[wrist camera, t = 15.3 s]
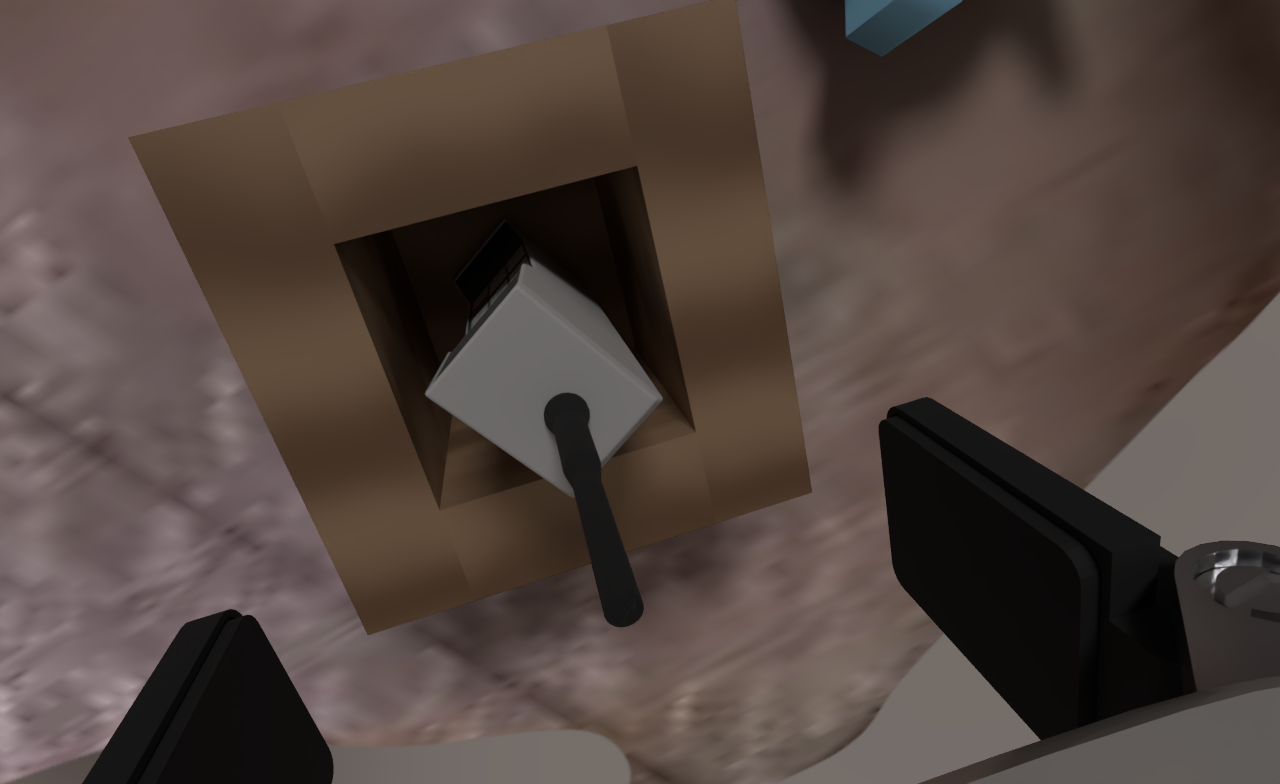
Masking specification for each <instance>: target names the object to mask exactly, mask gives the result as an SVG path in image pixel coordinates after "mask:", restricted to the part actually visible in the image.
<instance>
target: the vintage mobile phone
mask: <svg viewBox="0 0 1280 784" xmlns="http://www.w3.org/2000/svg"><path fill="white" fill-rule="evenodd" d="M453 283H454V285H455V286H456V287H457V289H458V290H459V292H460V293H461V294H462V296H463V297H464V299H465V300H466V301H467V303H468V304H469V308H468V317H467V325H466V334H465V337H464V338H463V339H462V340H461V341H460V343H459V344H458V345H457V346H456V347H455V348H454V350H453V351H452V352H448V354H447V355H446V357H445V359H444V361H443V362H442V364H441V366H440V368H439V369H438V371H437V373H436V374H435V376H434V378H433V380H432V381H431V383H430V385H429V387H428V388H427V390H426V392H425V395H426V397H427V398H429V399H430V400H432V401H433V402H435V403H436V404H437V405H439V406H440V407H442V408H443V409H445V410H446V411H448V412H449V413H450V414H452V415H453V416H455V417H456V418H458V419H459V420H460V421H462V422H463V423H465V424H466V425H468V426H469V427H471V428H472V429H473V430H475V431H476V432H478V433H479V434H481V435H482V436H483V437H485V438H486V439H488V440H489V441H491V442H492V443H493V444H495V445H496V446H498V447H499V448H501V449H502V450H504V451H505V452H506V453H508V454H509V455H511V456H512V457H514V458H515V459H516V460H518V461H519V462H521V463H522V464H524V465H525V466H527V467H528V468H529V469H531V470H532V471H534V472H535V473H537V474H538V475H539V476H541V477H542V478H544V479H545V480H547V481H548V482H550V483H551V484H552V485H554V486H555V487H557V488H558V489H560V490H561V491H562V492H564V493H565V494H567V495H568V496H570V497H573V498H574V497H575V499H576V503H577V507H578V511H579V515H580V519H581V523H582V527H583V531H584V535H585V539H586V543H587V547H588V551H589V556H590V560H591V564H592V568H593V572H594V576H595V580H596V584H597V588H598V592H599V596H600V600H601V604H602V608H603V612H604V616H605V618H606V620H607V622H609V623H610V624H611V625H613V626H616V627H626V626H630V625H632V624H634V623H635V622H636V621H638V620H639V618H640V617H641V616H642V613H643V610H644V607H643V602H642V599H641V596H640V593H639V590H638V587H637V584H636V581H635V578H634V575H633V572H632V569H631V566H630V563H629V560H628V558H627V555H626V552H625V549H624V546H623V543H622V540H621V537H620V534H619V531H618V528H617V525H616V522H615V519H614V516H613V513H612V510H611V507H610V504H609V501H608V498H607V495H606V493H605V490H604V487H603V484H602V481H601V468H602V467H603V466H604V465H605V464H606V463H607V462H608V461H609V459H610V458H611V457H612V456H613V455H614V454H615V453H616V452H617V451H618V449H619V448H620V447H621V446H622V445H623V444H624V443H625V442H626V441H627V439H628V438H629V437H630V436H631V435H632V434H633V433H634V432H635V431H636V429H637V428H638V427H639V426H640V425H641V424H642V423H643V422H644V421H645V419H646V418H647V417H648V416H649V415H650V414H651V413H652V412H653V411H654V409H655V408H656V407H657V406H658V405H659V404H660V403H661V402H662V400H663V398H662V396H661V395H660V393H659V392H658V390H657V389H656V387H655V386H654V384H653V383H652V381H651V380H650V379H649V377H648V376H647V374H646V373H645V371H644V370H643V368H642V367H641V366H640V364H639V363H638V361H637V360H636V358H635V357H634V355H633V354H632V353H631V351H630V350H629V348H628V347H627V345H626V344H625V342H624V341H623V340H622V338H621V337H620V335H619V334H618V332H617V331H616V329H615V328H614V326H613V325H612V324H611V322H610V321H609V319H608V318H607V316H606V315H605V313H604V312H603V311H602V309H601V308H600V306H599V305H598V303H597V302H596V300H595V299H594V298H593V296H592V295H591V293H590V292H589V290H588V289H587V287H586V286H585V285H584V284H583V283H582V282H581V281H579V280H578V279H577V278H576V277H575V276H574V275H572V274H571V273H570V272H569V271H568V270H566V269H565V268H564V267H563V266H562V265H561V264H559V263H558V262H557V261H556V260H555V259H554V258H552V257H551V256H550V255H549V254H548V253H547V252H545V251H544V250H543V249H542V248H541V247H540V246H538V245H537V244H536V243H535V242H534V241H533V240H531V239H530V238H529V237H528V236H527V235H525V234H524V233H523V232H522V231H521V230H520V229H518V228H517V227H516V226H515V225H514V224H513V223H511V222H510V221H509V220H508V219H507V218H505V217H504V218H503V219H502V220H501V222H500V223H499V224H498V225H497V226H496V228H495V229H494V230H493V231H492V232H491V234H490V235H489V236H488V237H487V239H486V240H485V241H484V242H483V243H482V245H481V246H480V247H479V248H478V249H477V251H476V252H475V253H474V254H473V255H472V257H471V258H470V259H469V260H468V262H467V263H466V264H465V265H464V266H463V268H462V269H461V270H460V271H459V272H458V274H457V275H456V276H455V277H454V280H453Z"/></svg>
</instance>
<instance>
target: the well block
mask: <svg viewBox="0 0 1280 784" xmlns="http://www.w3.org/2000/svg"><path fill="white" fill-rule="evenodd" d="M128 138H129V140H130V142H131V144H132V146H133V148H134V150H135V153H136V155H137V157H138V159H139V161H140V163H141V165H142V167H143V169H144V171H145V173H146V175H147V177H148V180H149V182H150V184H151V186H152V188H153V190H154V192H155V194H156V196H157V198H158V200H159V202H160V204H161V207H162V209H163V211H164V213H165V215H166V217H167V219H168V221H169V223H170V225H171V227H172V229H173V231H174V234H175V236H176V238H177V240H178V242H179V244H180V246H181V248H182V250H183V252H184V254H185V256H186V258H187V261H188V263H189V265H190V267H191V269H192V271H193V273H194V275H195V277H196V279H197V281H198V283H199V285H200V288H201V290H202V292H203V294H204V296H205V298H206V300H207V302H208V304H209V306H210V308H211V310H212V312H213V315H214V317H215V319H216V321H217V323H218V325H219V327H220V329H221V331H222V333H223V335H224V337H225V339H226V342H227V344H228V346H229V348H230V350H231V352H232V354H233V356H234V358H235V360H236V362H237V364H238V366H239V369H240V371H241V373H242V375H243V377H244V379H245V381H246V383H247V385H248V387H249V389H250V391H251V393H252V396H253V398H254V400H255V402H256V404H257V406H258V408H259V410H260V412H261V414H262V416H263V418H264V420H265V422H266V425H267V427H268V429H269V431H270V433H271V435H272V437H273V439H274V441H275V443H276V445H277V447H278V449H279V452H280V454H281V456H282V458H283V460H284V462H285V464H286V466H287V468H288V470H289V472H290V474H291V476H292V479H293V481H294V483H295V485H296V487H297V489H298V491H299V493H300V495H301V497H302V499H303V501H304V503H305V506H306V508H307V510H308V512H309V514H310V516H311V518H312V520H313V522H314V524H315V526H316V528H317V530H318V533H319V535H320V537H321V539H322V541H323V543H324V545H325V547H326V549H327V551H328V553H329V555H330V557H331V560H332V562H333V564H334V566H335V568H336V570H337V572H338V574H339V576H340V578H341V580H342V582H343V584H344V587H345V589H346V591H347V593H348V595H349V597H350V599H351V601H352V603H353V605H354V607H355V609H356V611H357V614H358V616H359V618H360V620H361V622H362V624H363V626H364V628H365V630H366V632H367V634H368V635H370V634H373V633H376V632H379V631H383V630H386V629H389V628H392V627H395V626H398V625H401V624H404V623H407V622H411V621H414V620H417V619H420V618H423V617H426V616H429V615H432V614H435V613H439V612H442V611H445V610H448V609H451V608H454V607H457V606H460V605H463V604H467V603H470V602H473V601H476V600H479V599H482V598H485V597H488V596H491V595H495V594H498V593H501V592H504V591H507V590H510V589H513V588H516V587H519V586H522V585H526V584H529V583H532V582H535V581H538V580H541V579H544V578H547V577H550V576H554V575H557V574H560V573H563V572H566V571H569V570H572V569H575V568H578V567H582V566H585V565H588V564H591V560H590V556H589V551H588V547H587V543H586V539H585V535H584V531H583V527H582V523H581V519H580V515H579V511H578V507H577V503H576V499H575V497H574V498H573V497H570V496H568V495H567V494H565V493H564V492H562V491H561V490H560V489H558V488H557V487H555V486H554V485H552V484H551V483H550V482H548V481H547V480H545V479H544V478H542V477H541V476H539V475H538V474H537V473H535V472H534V471H532V470H531V469H529V468H528V467H527V466H525V465H524V464H522V463H521V462H519V461H518V460H516V459H515V458H514V457H512V456H511V455H509V454H508V453H506V452H505V451H504V450H502V449H501V448H499V447H498V446H496V445H495V444H493V443H492V442H491V441H489V440H488V439H486V438H485V437H483V436H482V435H481V434H479V433H478V432H476V431H475V430H473V429H472V428H471V427H469V426H468V425H466V424H465V423H463V422H462V421H460V420H459V419H458V418H456V417H455V416H453V415H452V414H450V413H449V412H448V411H446V410H445V409H443V408H442V407H440V406H439V405H437V404H436V403H435V402H433V401H432V400H430V399H429V398H427V397H426V395H425V392H426V390H427V388H428V387H429V385H430V383H431V381H432V380H433V378H434V376H435V374H436V373H437V371H438V369H439V368H440V366H441V364H442V362H443V361H444V359H445V357H446V355H447V354H448V352H452V351H453V350H454V348H455V347H456V346H457V345H458V344H459V343H460V341H461V340H462V339H463V338H464V337H465V334H466V325H467V317H468V308H469V304H468V303H467V301H466V300H465V299H464V297H463V296H462V294H461V293H460V292H459V290H458V289H457V287H456V286H455V285H454V283H453V280H454V277H455V276H456V275H457V274H458V272H459V271H460V270H461V269H462V268H463V266H464V265H465V264H466V263H467V262H468V260H469V259H470V258H471V257H472V255H473V254H474V253H475V252H476V251H477V249H478V248H479V247H480V246H481V245H482V243H483V242H484V241H485V240H486V239H487V237H488V236H489V235H490V234H491V232H492V231H493V230H494V229H495V228H496V226H497V225H498V224H499V223H500V222H501V220H502V219H503V218H504V217H505V218H507V219H508V220H509V221H510V222H511V223H513V224H514V225H515V226H516V227H517V228H518V229H520V230H521V231H522V232H523V233H524V234H525V235H527V236H528V237H529V238H530V239H531V240H533V241H534V242H535V243H536V244H537V245H538V246H540V247H541V248H542V249H543V250H544V251H545V252H547V253H548V254H549V255H550V256H551V257H552V258H554V259H555V260H556V261H557V262H558V263H559V264H561V265H562V266H563V267H564V268H565V269H566V270H568V271H569V272H570V273H571V274H572V275H574V276H575V277H576V278H577V279H578V280H579V281H581V282H582V283H583V284H584V285H585V286H586V287H587V289H588V290H589V292H590V293H591V295H592V296H593V298H594V299H595V300H596V302H597V303H598V305H599V306H600V308H601V309H602V311H603V312H604V313H605V315H606V316H607V318H608V319H609V321H610V322H611V324H612V325H613V326H614V328H615V329H616V331H617V332H618V334H619V335H620V337H621V338H622V340H623V341H624V342H625V344H626V345H627V347H628V348H629V350H630V351H631V353H632V354H633V355H634V357H635V358H636V360H637V361H638V363H639V364H640V366H641V367H642V368H643V370H644V371H645V373H646V374H647V376H648V377H649V379H650V380H651V381H652V383H653V384H654V386H655V387H656V389H657V390H658V392H659V393H660V395H661V396H662V398H663V400H662V402H661V403H660V404H659V405H658V406H657V407H656V408H655V409H654V411H653V412H652V413H651V414H650V415H649V416H648V417H647V418H646V419H645V421H644V422H643V423H642V424H641V425H640V426H639V427H638V428H637V429H636V431H635V432H634V433H633V434H632V435H631V436H630V437H629V438H628V439H627V441H626V442H625V443H624V444H623V445H622V446H621V447H620V448H619V449H618V451H617V452H616V453H615V454H614V455H613V456H612V457H611V458H610V459H609V461H608V462H607V463H606V464H605V465H604V466H603V467H602V468H601V481H602V484H603V487H604V490H605V493H606V495H607V498H608V501H609V504H610V507H611V510H612V513H613V516H614V519H615V522H616V525H617V528H618V531H619V534H620V537H621V540H622V543H623V546H624V549H625V552H628V551H631V550H634V549H638V548H641V547H644V546H647V545H650V544H653V543H656V542H659V541H662V540H666V539H669V538H672V537H675V536H678V535H681V534H684V533H687V532H690V531H694V530H697V529H700V528H703V527H706V526H709V525H712V524H715V523H718V522H722V521H725V520H728V519H731V518H734V517H737V516H740V515H743V514H746V513H750V512H753V511H756V510H759V509H762V508H765V507H768V506H771V505H774V504H777V503H781V502H784V501H787V500H790V499H793V498H796V497H799V496H802V495H805V494H809V493H812V488H811V482H810V476H809V469H808V463H807V456H806V450H805V443H804V437H803V430H802V424H801V418H800V411H799V405H798V398H797V392H796V385H795V379H794V372H793V366H792V360H791V353H790V347H789V340H788V334H787V327H786V321H785V314H784V308H783V302H782V295H781V289H780V282H779V276H778V269H777V263H776V256H775V250H774V244H773V237H772V231H771V224H770V218H769V211H768V205H767V198H766V192H765V186H764V179H763V173H762V166H761V160H760V153H759V147H758V140H757V134H756V128H755V121H754V115H753V108H752V102H751V95H750V89H749V82H748V76H747V70H746V63H745V57H744V50H743V44H742V37H741V31H740V24H739V18H738V12H737V5H736V0H713V1H709V2H705V3H700V4H696V5H692V6H688V7H683V8H679V9H675V10H671V11H666V12H662V13H658V14H653V15H649V16H645V17H641V18H636V19H632V20H628V21H624V22H619V23H615V24H611V25H606V26H602V27H598V28H594V29H589V30H585V31H581V32H577V33H572V34H568V35H564V36H559V37H555V38H551V39H547V40H542V41H538V42H534V43H530V44H525V45H521V46H517V47H513V48H508V49H504V50H500V51H495V52H491V53H487V54H483V55H478V56H474V57H470V58H466V59H461V60H457V61H453V62H448V63H444V64H440V65H436V66H431V67H427V68H423V69H419V70H414V71H410V72H406V73H401V74H397V75H393V76H389V77H384V78H380V79H376V80H372V81H367V82H363V83H359V84H354V85H350V86H346V87H342V88H337V89H333V90H329V91H325V92H320V93H316V94H312V95H308V96H303V97H299V98H295V99H290V100H286V101H282V102H278V103H273V104H269V105H265V106H261V107H256V108H252V109H248V110H243V111H239V112H235V113H231V114H226V115H222V116H218V117H214V118H209V119H205V120H201V121H196V122H192V123H188V124H184V125H179V126H175V127H171V128H167V129H162V130H158V131H154V132H150V133H145V134H141V135H137V136H132V137H128Z"/></svg>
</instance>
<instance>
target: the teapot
mask: <svg viewBox="0 0 1280 784" xmlns="http://www.w3.org/2000/svg"><path fill="white" fill-rule="evenodd" d="M962 1H963V0H845V38H846V39H848V40H850V41H852V42H854V43H856V44H858V45H860V46H861V47H863V48H865V49H867V50H869V51H871V52H873V53H875V54H877V55H879V56H881V57H882V56H884V55H885V54H887V53H888V52H890V51H891V50H893V49H894V48H895V47H897V46H898V45H900V44H901V43H903V42H904V41H906V40H907V39H908V38H910V37H911V36H913V35H914V34H916V33H917V32H919V31H920V30H922V29H923V28H924V27H926V26H927V25H929V24H930V23H932V22H933V21H935V20H936V19H937V18H939V17H940V16H942V15H943V14H945V13H946V12H948V11H949V10H951V9H952V8H953V7H955V6H956V5H958V4H959V3H961V2H962Z"/></svg>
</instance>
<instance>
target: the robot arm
mask: <svg viewBox="0 0 1280 784" xmlns="http://www.w3.org/2000/svg"><path fill="white" fill-rule="evenodd" d="M879 439H880V449H881V458H882V468H883V478H884V487H885V497H886V507H887V516H888V526H889V535H890V545H891V555H892V564H893V568H894V571H895V574H896V576H897V579H898V581H899V582H900V584H901V585H902V587H903V588H904V589H905V590H906V592H907V593H908V594H909V595H910V596H911V597H912V598H913V599H914V600H915V601H916V603H917V604H918V605H919V606H920V607H921V608H922V609H923V610H924V611H925V613H926V614H927V615H928V616H929V617H930V618H931V619H932V620H933V621H934V622H935V624H936V625H937V626H938V627H939V628H940V629H941V630H942V631H943V632H944V634H945V635H946V636H947V637H948V638H949V639H950V640H951V641H952V642H953V644H954V645H955V646H956V647H957V648H958V649H959V650H960V651H961V652H962V653H963V655H964V656H965V657H966V658H967V659H968V660H969V661H970V662H971V663H972V665H974V666H975V668H976V669H977V670H978V671H979V672H980V673H981V674H982V676H983V677H984V678H985V679H986V680H987V681H988V682H989V683H990V684H991V685H992V687H993V688H994V689H995V690H996V691H997V692H998V693H999V694H1000V696H1001V697H1003V699H1004V700H1005V701H1006V702H1007V703H1008V704H1009V705H1010V707H1011V708H1012V709H1013V710H1014V711H1015V712H1016V713H1017V714H1018V715H1019V717H1020V718H1021V719H1022V720H1023V721H1024V722H1025V723H1026V724H1027V725H1028V726H1029V728H1030V729H1031V730H1032V731H1033V732H1034V733H1035V734H1036V735H1037V736H1038V737H1039V739H1040V740H1041V741H1039V742H1036V743H1032V744H1030V745H1027V746H1024V747H1021V748H1018V749H1015V750H1012V751H1009V752H1006V753H1003V754H1000V755H997V756H994V757H991V758H989V759H986V760H983V761H980V762H977V763H975V764H972V765H969V766H966V767H963V768H961V769H958V770H955V771H952V772H949V773H947V774H944V775H941V776H938V777H935V778H933V779H930V780H927V781H924V782H921V783H919V784H1280V547H1278V546H1274V545H1267V544H1262V543H1255V542H1249V541H1218V542H1211V543H1205V544H1200V545H1198V546H1196V547H1194V548H1191V549H1189V550H1186V551H1185V552H1184V553H1183V554H1182V555H1181V556H1180V557H1177V556H1176V555H1174V554H1172V553H1171V552H1169V551H1167V550H1165V549H1164V548H1163V547H1161V546H1160V539H1161V536H1159V535H1158V534H1156V533H1154V532H1153V531H1151V530H1149V529H1147V528H1146V527H1144V526H1143V525H1141V524H1139V523H1138V522H1136V521H1134V520H1133V519H1131V518H1129V517H1128V516H1126V515H1124V514H1123V513H1121V512H1119V511H1118V510H1116V509H1114V508H1113V507H1111V506H1109V505H1108V504H1106V503H1104V502H1103V501H1101V500H1099V499H1098V498H1096V497H1094V496H1093V495H1091V494H1089V493H1088V492H1086V491H1084V490H1083V489H1081V488H1079V487H1078V486H1076V485H1074V484H1073V483H1071V482H1069V481H1068V480H1066V479H1065V478H1063V477H1061V476H1060V475H1058V474H1056V473H1055V472H1053V471H1051V470H1050V469H1048V468H1046V467H1045V466H1043V465H1041V464H1040V463H1038V462H1036V461H1035V460H1033V459H1031V458H1030V457H1028V456H1026V455H1025V454H1023V453H1021V452H1020V451H1018V450H1016V449H1015V448H1013V447H1011V446H1010V445H1008V444H1006V443H1005V442H1003V441H1001V440H1000V439H998V438H996V437H995V436H993V435H991V434H990V433H988V432H986V431H985V430H983V429H981V428H980V427H978V426H976V425H975V424H973V423H971V422H970V421H968V420H966V419H965V418H963V417H961V416H960V415H958V414H956V413H955V412H953V411H952V410H950V409H948V408H947V407H945V406H943V405H942V404H940V403H938V402H937V401H935V400H933V399H931V398H928V397H925V398H921V399H918V400H914V401H911V402H908V403H905V404H901V405H898V406H895V407H892V408H890V409H889V411H888V414H887V419H885V420H882V421H881V422H880V424H879ZM332 779H333V759H332V755H331V752H330V750H329V747H328V746H327V744H326V742H325V740H324V738H323V737H322V735H321V733H320V731H319V730H318V728H317V726H316V724H315V722H314V721H313V719H312V717H311V715H310V713H309V712H308V710H307V708H306V706H305V705H304V703H303V701H302V699H301V697H300V696H299V694H298V692H297V690H296V689H295V687H294V685H293V683H292V681H291V680H290V678H289V676H288V674H287V673H286V671H285V669H284V667H283V665H282V664H281V662H280V660H279V658H278V656H277V655H276V653H275V651H274V649H273V648H272V646H271V644H270V642H269V640H268V639H267V637H266V635H265V633H264V632H263V630H262V628H261V626H260V624H259V623H258V621H257V620H256V619H255V618H254V617H253V616H252V615H245V616H242V614H241V613H239V612H238V611H236V610H233V609H229V610H226V611H223V612H219V613H216V614H213V615H210V616H206V617H203V618H200V619H197V620H193V621H190V622H188V623H185V624H184V626H183V627H182V628H181V629H180V630H179V632H178V634H177V635H176V637H175V638H174V640H173V641H172V643H171V645H170V646H169V648H168V649H167V651H166V653H165V654H164V656H163V657H162V659H161V660H160V662H159V664H158V665H157V667H156V668H155V670H154V671H153V673H152V675H151V676H150V678H149V679H148V681H147V682H146V684H145V686H144V687H143V689H142V690H141V692H140V693H139V695H138V697H137V698H136V700H135V701H134V703H133V704H132V706H131V708H130V709H129V711H128V712H127V714H126V715H125V717H124V719H123V720H122V722H121V723H120V725H119V726H118V728H117V730H116V731H115V733H114V734H113V736H112V738H111V739H110V741H109V742H108V744H107V745H106V747H105V749H104V750H103V752H102V753H101V755H100V757H99V758H98V760H97V761H96V763H95V764H94V766H93V768H92V769H91V771H90V772H89V774H88V775H87V777H86V779H85V780H84V782H83V783H82V784H331V783H332Z"/></svg>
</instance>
